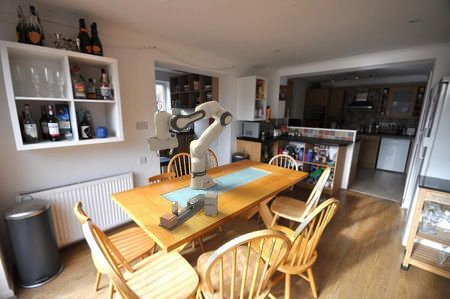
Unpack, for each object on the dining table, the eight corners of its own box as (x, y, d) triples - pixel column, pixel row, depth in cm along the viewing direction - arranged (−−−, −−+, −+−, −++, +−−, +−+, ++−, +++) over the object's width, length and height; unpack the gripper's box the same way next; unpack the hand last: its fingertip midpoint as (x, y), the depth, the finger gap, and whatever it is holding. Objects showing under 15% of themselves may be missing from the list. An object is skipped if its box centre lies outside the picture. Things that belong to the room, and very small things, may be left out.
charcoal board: (198, 199, 143) (198, 199, 143) (209, 203, 138) (209, 202, 138) (158, 225, 112) (158, 224, 112) (171, 231, 107) (171, 230, 107)
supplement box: (204, 215, 123) (203, 196, 120) (207, 209, 130) (206, 191, 127) (215, 216, 122) (215, 197, 119) (218, 210, 129) (218, 192, 126)
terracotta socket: (167, 219, 116) (167, 211, 115) (177, 223, 112) (177, 215, 111) (160, 224, 112) (159, 216, 111) (170, 228, 108) (170, 220, 107)
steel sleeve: (200, 200, 141) (200, 193, 140) (206, 202, 139) (206, 195, 137) (187, 208, 129) (186, 201, 128) (193, 210, 127) (193, 203, 126)
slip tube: (190, 205, 131) (190, 192, 129) (194, 207, 129) (194, 193, 127) (166, 221, 113) (166, 205, 111) (171, 223, 111) (170, 207, 109)
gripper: (148, 137, 122) (151, 159, 125) (178, 134, 135) (179, 153, 138) (145, 136, 127) (147, 157, 130) (174, 133, 140) (175, 152, 143)
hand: (164, 155), depth 134 cm, fingers open, 8 cm apart
